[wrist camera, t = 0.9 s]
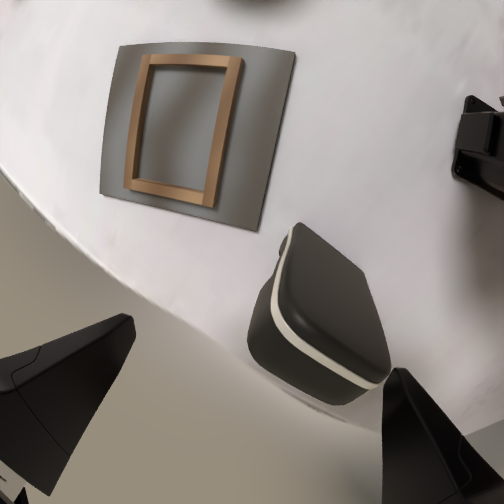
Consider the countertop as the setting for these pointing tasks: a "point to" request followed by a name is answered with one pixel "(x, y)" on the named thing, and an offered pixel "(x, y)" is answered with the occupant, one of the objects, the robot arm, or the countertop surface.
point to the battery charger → (319, 322)
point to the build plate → (195, 127)
